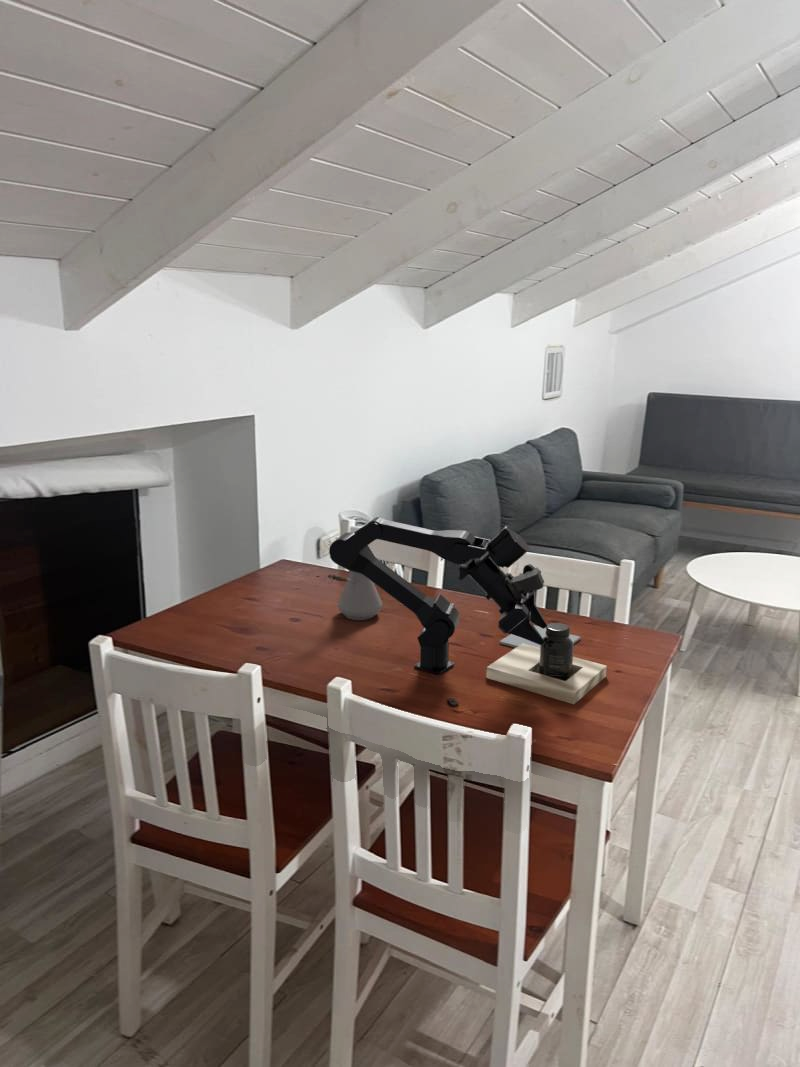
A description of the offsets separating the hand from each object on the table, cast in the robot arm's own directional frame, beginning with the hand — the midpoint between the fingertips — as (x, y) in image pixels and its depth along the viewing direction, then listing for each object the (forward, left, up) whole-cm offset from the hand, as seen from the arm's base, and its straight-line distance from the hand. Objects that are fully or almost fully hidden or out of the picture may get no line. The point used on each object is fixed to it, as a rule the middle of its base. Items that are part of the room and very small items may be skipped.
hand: (544, 635), depth 168 cm
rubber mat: (+18, +9, -10) cm, 23 cm away
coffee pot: (+1, +53, -10) cm, 54 cm away
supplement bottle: (+1, -3, -10) cm, 10 cm away
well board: (+1, -1, -10) cm, 10 cm away
